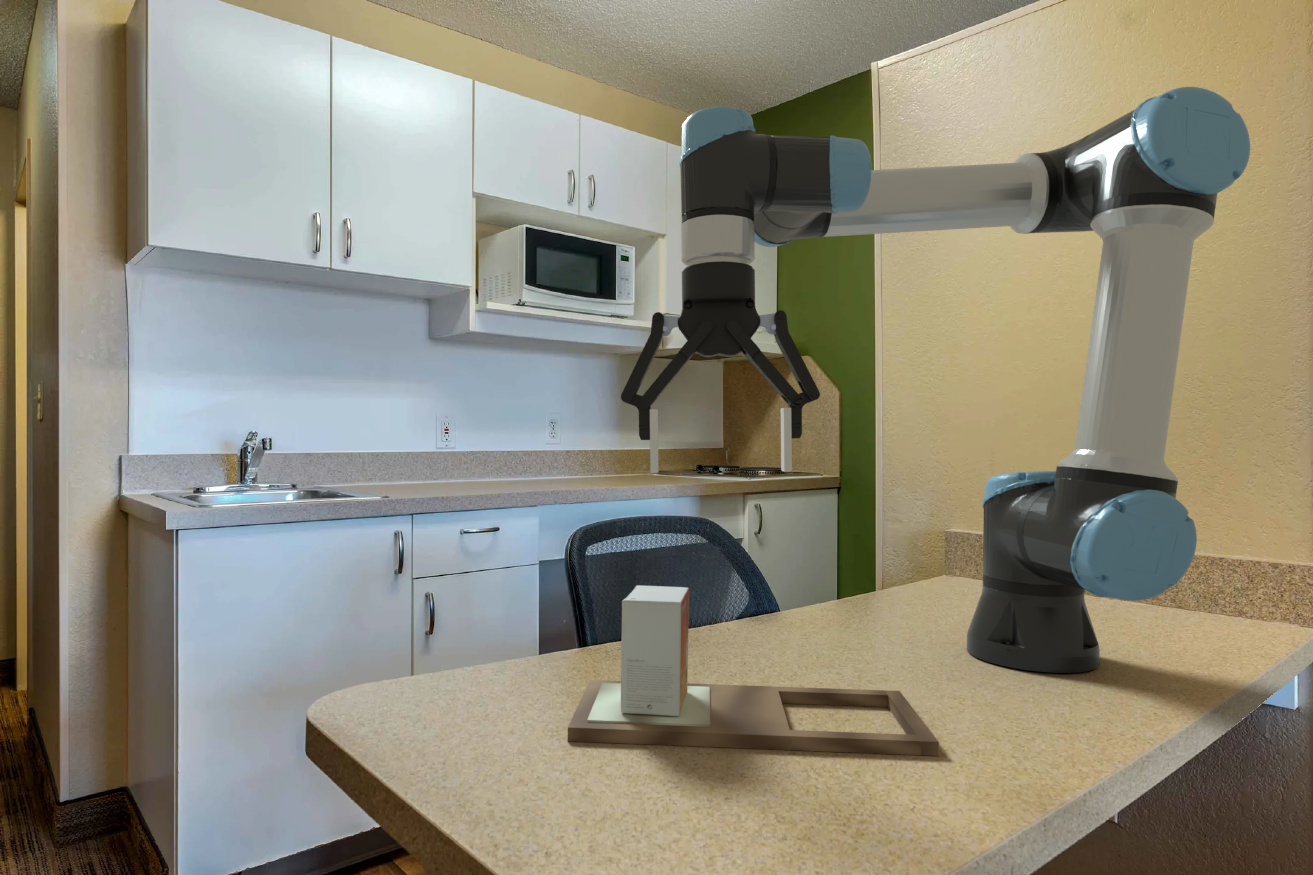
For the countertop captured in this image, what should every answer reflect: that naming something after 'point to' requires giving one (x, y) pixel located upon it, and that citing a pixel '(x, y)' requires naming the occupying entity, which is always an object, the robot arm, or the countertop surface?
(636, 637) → the small box
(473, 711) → the countertop surface
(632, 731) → the board
